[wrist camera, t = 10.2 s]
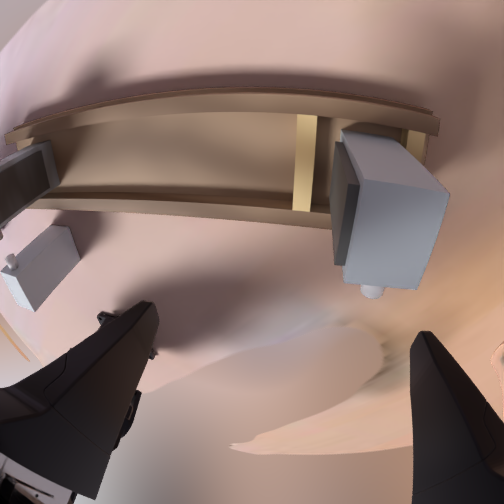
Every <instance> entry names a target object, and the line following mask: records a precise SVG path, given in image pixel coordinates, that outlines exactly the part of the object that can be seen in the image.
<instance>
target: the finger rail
mask: <svg viewBox="0 0 504 504" xmlns="http://www.w3.org/2000/svg"><path fill="white" fill-rule="evenodd" d="M432 112H433V111H431V110H428V109H425V108H421V107H417V106H413V105H409V104H404V103H400V102H395V101H390V100H385V99H379V98H374V97H368V96H362V95H355V94H348V93H340V92H331V91H322V90H311V89H297V88H278V87H222V88H202V89H188V90H177V91H168V92H159V93H152V94H144V95H138V96H132V97H126V98H120V99H115V100H109V101H104V102H100V103H95V104H91V105H86V106H82V107H78V108H74V109H70V110H67V111H63V112H59V113H56V114H52V115H49V116H46V117H42V118H39V119H36V120H33V121H30V122H27V123H24V124H22V125H19V126H17V127H15V128H13V129H14V131H12V132H10V133H7V134H5V141H6V145H8V144H11V143H15V142H16V145H17V150H18V151H17V152H15V153H13V154H11V155H9V156H7V157H6V158H4V159H2V160H0V240H1V239H2V238H3V234H2V232H1V228H2V227H3V226H4V225H6V224H7V223H8V222H9V221H10V220H12V219H13V218H14V217H16V216H17V215H18V214H19V213H21V212H22V211H23V210H25V209H57V210H84V211H106V212H125V213H142V214H159V215H174V216H188V217H201V218H214V219H227V220H238V221H250V222H261V223H272V224H282V225H292V226H302V227H312V228H321V229H331V230H332V224H331V212H330V202H329V195H330V187H331V178H332V169H333V159H334V149H335V141H338V142H340V134H341V129H343V130H350V131H357V132H364V133H370V134H377V135H382V136H388V137H393V138H394V139H395V140H396V141H397V142H398V143H400V144H401V145H402V146H403V147H404V148H405V149H406V150H407V151H408V152H409V153H410V154H411V155H413V156H414V157H415V158H416V159H417V160H418V161H419V162H420V163H421V164H422V165H423V166H424V163H425V158H426V152H427V146H428V140H429V135H434V136H438V131H439V124H440V119H439V118H437V117H435V116H432Z"/></svg>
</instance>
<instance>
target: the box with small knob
mask: <svg viewBox="0 0 504 504" xmlns="http://www.w3.org/2000/svg"><path fill="white" fill-rule="evenodd" d="M5 260H6V262H7V265H6V266H5V267H4V268H3V269H2V270H1V271H0V273H1V275H2V276H3V278H4V280H5V282H6V284H7V286H8V288H9V290H10V292H11V293H12V295H13V297H14V299H15V300H16V302H17V304H18V305H19V306H22V307H24V308H26V309H28V310H31V311H33V312H36V310H37V309H38V308H39V307H40V306H41V304H42V303H43V302H44V301H45V300H46V298H47V297H48V296H49V295H50V294H51V292H52V291H53V290H54V289H55V288H56V287H57V286H58V284H59V283H60V282H61V281H62V280H63V279H64V278H65V277H66V275H67V274H68V273H69V272H70V271H71V270H72V269H73V268H74V267H75V266H76V265H77V263H78V262H79V261H80V260H81V259H80V257H79V254H78V251H77V249H76V246H75V243H74V240H73V237H72V234H71V231H70V228H69V227H67V226H56V225H50V226H49V227H48V228H47V229H46V230H45V231H43V232H42V233H41V234H40V235H39V236H38V237H36V238H35V239H34V240H33V241H32V242H31V243H30V244H29V245H27V246H26V247H25V248H24V249H23V250H22V251H21V252H20V253H19V254H18V255H17V256H16V257H15V256H14V254H10V255H8V256H7V257H6V258H5Z"/></svg>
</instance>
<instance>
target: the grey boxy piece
mask: <svg viewBox="0 0 504 504" xmlns="http://www.w3.org/2000/svg"><path fill="white" fill-rule="evenodd" d="M449 196H450V193H449V192H448V191H447V190H446V189H445V188H444V187H443V186H442V185H441V183H440V182H439V181H438V180H437V179H436V178H435V177H434V176H433V175H432V174H431V173H430V172H429V171H428V170H427V169H426V168H425V167H424V166H423V165H422V164H421V163H420V162H419V161H418V160H417V159H416V158H415V157H414V156H413V155H411V154H410V153H409V152H408V151H407V150H406V149H405V148H404V147H403V146H402V145H401V144H400V143H398V142H397V141H396V140H395V139H394V138H393V137H388V136H382V135H377V134H370V133H364V132H357V131H350V130H343V129H341V134H340V142H338V141H335V149H334V159H333V169H332V178H331V187H330V195H329V202H330V212H331V224H332V236H333V250H334V265H340V266H342V269H343V282H344V283H349V284H359V285H361V288H360V290H361V293H362V294H363V295H364V296H366V297H367V298H370V299H378V298H380V297H381V296H382V294H383V291H384V288H385V287H390V288H401V289H412V290H417V288H418V286H419V283H420V281H421V279H422V276H423V274H424V271H425V269H426V266H427V263H428V261H429V258H430V255H431V253H432V250H433V247H434V244H435V241H436V239H437V236H438V233H439V230H440V227H441V223H442V220H443V217H444V214H445V210H446V207H447V203H448V200H449Z"/></svg>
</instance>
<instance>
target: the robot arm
mask: <svg viewBox="0 0 504 504" xmlns="http://www.w3.org/2000/svg"><path fill="white" fill-rule="evenodd" d="M97 319H98V321H99V323H100V325H101V326H100V327H99V329H98V330H97V331H96V332H95V333H94V334H92V335H91V336H89V337H88V338H86V339H85V340H83V341H82V342H81V343H79V344H78V345H76V346H75V347H73V348H70V350H69V351H68V352H67V353H65V354H63V355H62V356H60V357H59V358H57V359H56V360H54V361H53V362H51V363H50V364H49V365H47V366H45V367H44V368H42V369H40V370H39V371H37V372H35V373H34V374H32V375H30V376H28V377H26V378H25V379H23V380H21V381H20V382H18V383H16V384H14V385H12V386H10V387H5V388H0V504H73V503H74V501H75V498H76V496H77V493H78V494H81V495H83V496H86V497H88V498H91V499H93V500H95V499H96V497H97V494H98V491H99V488H100V485H101V482H102V479H103V476H104V473H105V470H106V468H107V464H108V462H109V459H110V455H111V453H112V451H113V450H115V449H116V448H117V447H118V444H119V442H120V439H121V438H122V437H123V436H125V434H126V433H127V432H128V431H129V429H130V427H131V426H132V423H133V421H134V417H135V414H136V410H137V407H138V404H139V400H140V397H141V394H142V392H140V391H139V390H136V388H137V386H138V383H139V381H140V378H141V376H142V374H143V371H144V369H145V366H146V364H147V361H148V359H151V360H153V359H154V358H155V355H154V352H153V350H152V345H153V342H154V338H155V335H156V332H157V329H158V325H159V316H158V313H157V310H156V306H155V304H154V303H153V302H151V301H146V300H143V301H141V302H139V303H138V304H136V305H135V306H133V307H132V308H130V309H129V310H127V311H126V312H124V313H123V314H121V315H120V316H118V317H117V318H115V317H111V316H107V315H104V314H100V313H99V314H98V315H97ZM410 396H411V409H412V425H413V493H412V494H413V496H412V504H504V423H503V421H502V420H501V419H500V418H499V416H498V415H497V414H496V412H495V411H494V410H493V408H492V407H491V406H490V404H489V403H488V402H486V399H485V397H484V396H483V395H482V393H481V392H480V391H479V389H478V388H477V387H476V386H475V384H474V383H473V382H472V380H471V379H470V378H469V377H468V375H467V374H466V373H465V371H464V370H463V369H462V368H461V366H460V365H459V364H458V363H457V361H456V360H455V359H454V358H453V357H452V355H451V354H450V353H449V352H448V351H447V349H446V348H445V347H444V346H443V345H442V343H441V342H440V341H439V340H438V339H437V337H436V336H435V335H434V334H433V333H432V332H431V331H420V332H419V333H418V335H417V337H416V338H415V340H414V342H413V344H412V345H411V348H410Z"/></svg>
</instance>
